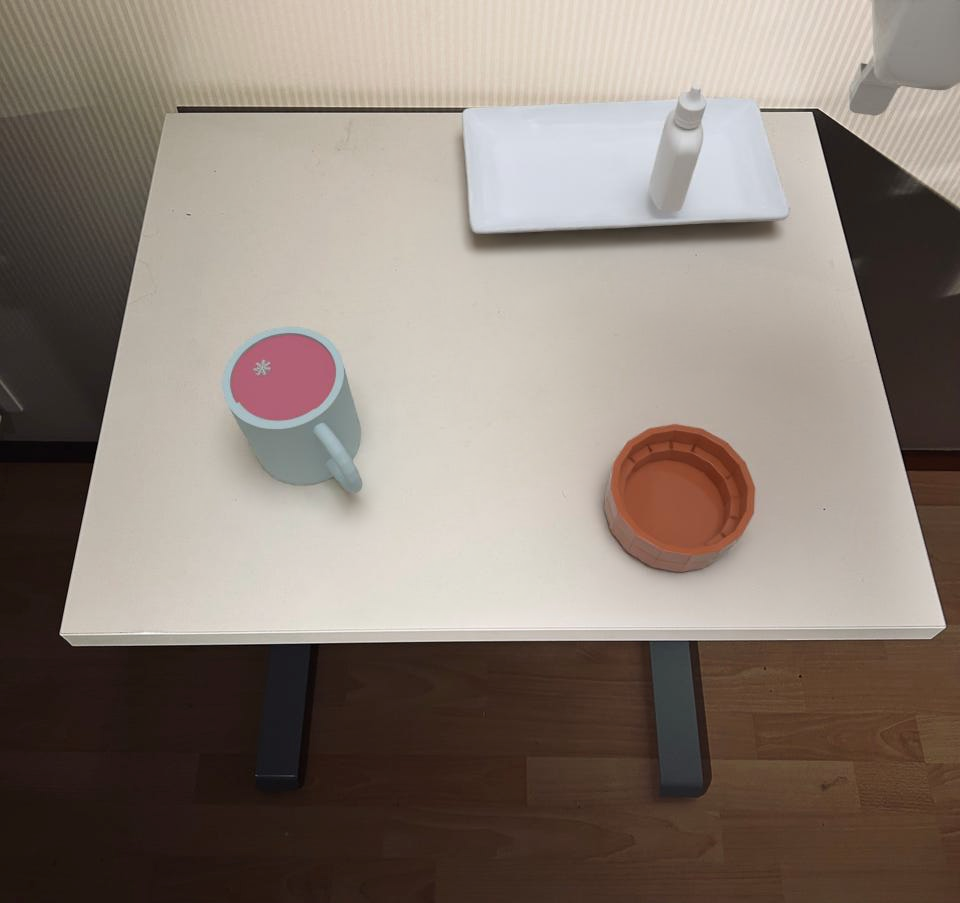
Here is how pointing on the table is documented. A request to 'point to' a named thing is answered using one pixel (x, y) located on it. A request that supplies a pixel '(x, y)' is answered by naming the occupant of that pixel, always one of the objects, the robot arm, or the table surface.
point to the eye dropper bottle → (678, 151)
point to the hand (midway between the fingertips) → (862, 45)
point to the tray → (612, 166)
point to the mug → (295, 406)
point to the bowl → (678, 497)
